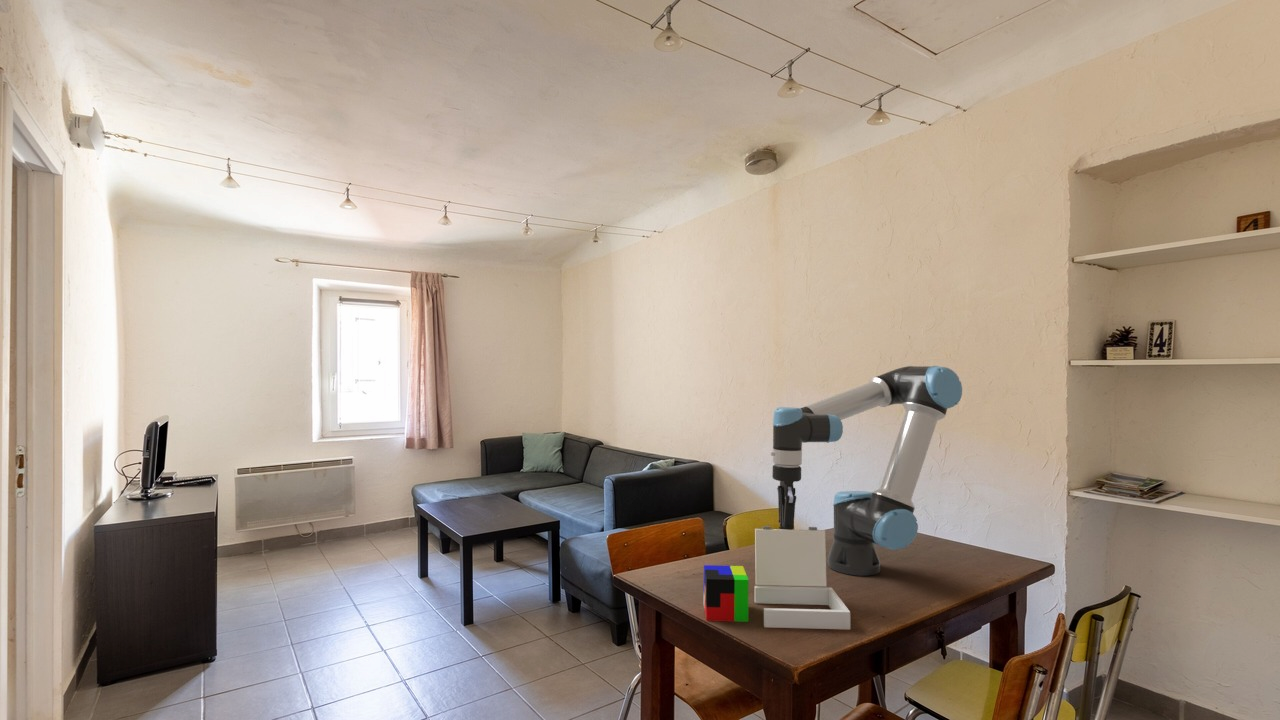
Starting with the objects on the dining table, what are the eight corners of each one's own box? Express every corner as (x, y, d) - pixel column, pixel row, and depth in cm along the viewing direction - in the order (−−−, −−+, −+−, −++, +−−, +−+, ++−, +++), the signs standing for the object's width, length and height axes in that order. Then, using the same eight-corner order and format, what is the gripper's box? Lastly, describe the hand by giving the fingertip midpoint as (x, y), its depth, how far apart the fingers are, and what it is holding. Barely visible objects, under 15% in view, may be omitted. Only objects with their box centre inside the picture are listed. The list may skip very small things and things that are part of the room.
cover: (826, 586, 153) (825, 585, 154) (825, 527, 155) (823, 527, 156) (756, 584, 154) (755, 583, 155) (755, 526, 156) (754, 526, 157)
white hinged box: (831, 603, 154) (831, 587, 154) (850, 629, 138) (850, 612, 138) (754, 601, 154) (754, 585, 155) (764, 627, 139) (764, 610, 139)
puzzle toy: (703, 604, 153) (703, 565, 153) (742, 605, 152) (742, 566, 152) (706, 620, 143) (706, 579, 143) (748, 621, 142) (748, 580, 142)
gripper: (768, 460, 166) (767, 545, 166) (777, 468, 153) (775, 560, 153) (795, 461, 166) (794, 546, 166) (806, 469, 153) (805, 561, 153)
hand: (785, 553), depth 159 cm, fingers closed
